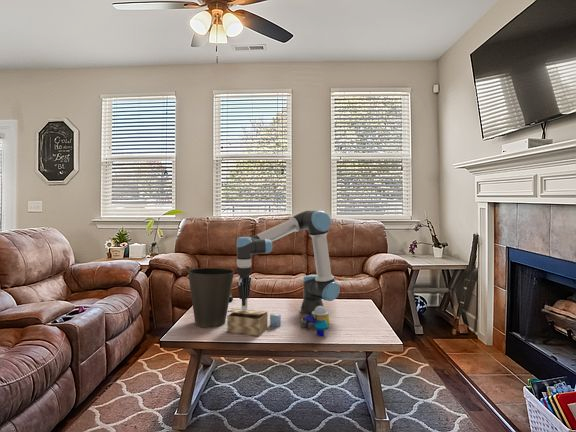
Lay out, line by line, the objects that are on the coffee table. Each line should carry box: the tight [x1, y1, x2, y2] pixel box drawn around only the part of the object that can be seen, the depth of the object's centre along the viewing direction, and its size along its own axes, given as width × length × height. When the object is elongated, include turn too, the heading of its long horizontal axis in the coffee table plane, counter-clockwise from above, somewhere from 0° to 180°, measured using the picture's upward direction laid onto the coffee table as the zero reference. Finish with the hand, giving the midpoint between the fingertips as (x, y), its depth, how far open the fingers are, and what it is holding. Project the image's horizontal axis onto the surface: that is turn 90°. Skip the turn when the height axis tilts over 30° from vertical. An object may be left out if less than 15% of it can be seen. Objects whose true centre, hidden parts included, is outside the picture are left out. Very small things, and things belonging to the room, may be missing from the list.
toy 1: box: [300, 310, 330, 331], centre depth 205 cm, size 14×7×15 cm
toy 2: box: [312, 306, 329, 337], centre depth 190 cm, size 8×9×15 cm
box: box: [226, 312, 269, 338], centre depth 195 cm, size 18×12×9 cm, turn 72°
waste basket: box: [187, 267, 235, 329], centre depth 207 cm, size 27×20×30 cm
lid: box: [227, 307, 268, 315], centre depth 195 cm, size 18×12×1 cm, turn 72°
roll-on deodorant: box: [269, 313, 282, 328], centre depth 204 cm, size 6×6×6 cm
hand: (244, 311), depth 192 cm, fingers closed
